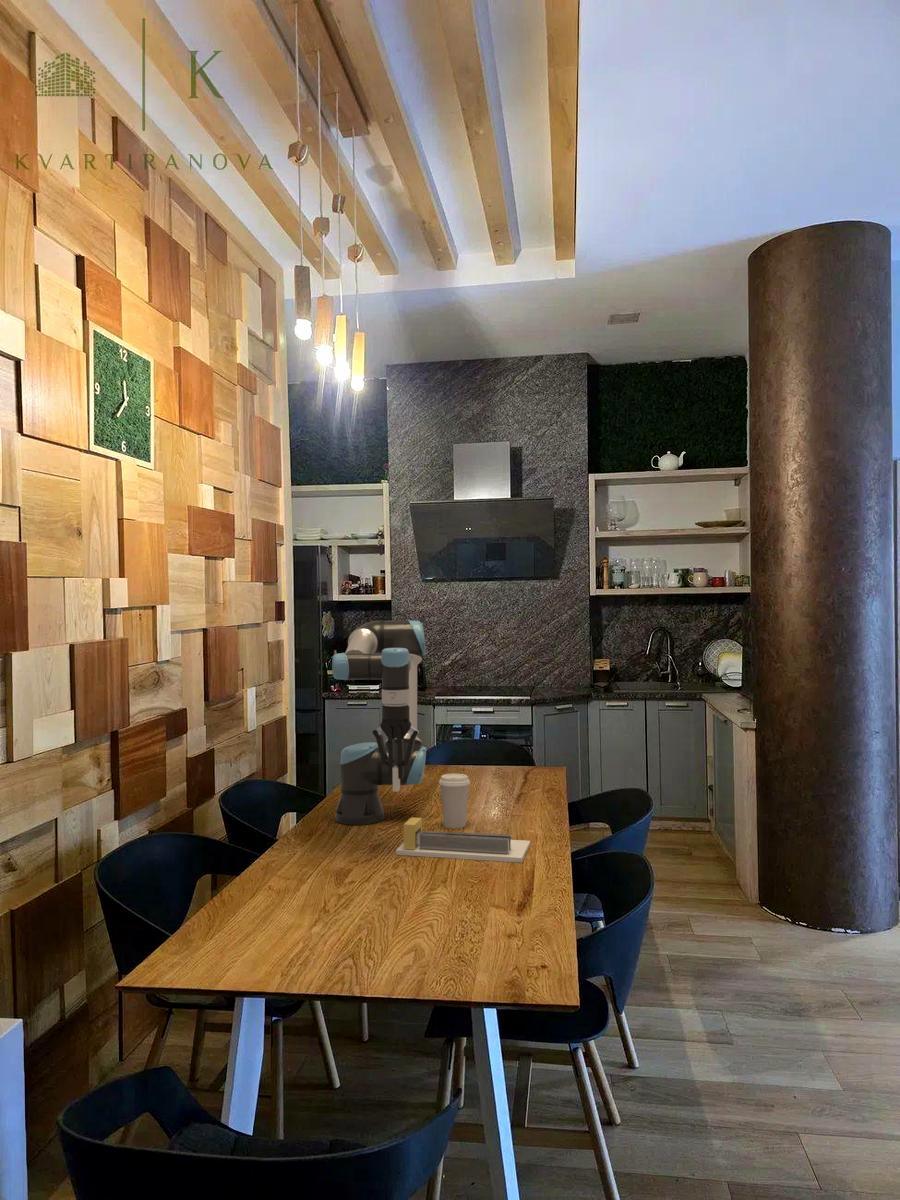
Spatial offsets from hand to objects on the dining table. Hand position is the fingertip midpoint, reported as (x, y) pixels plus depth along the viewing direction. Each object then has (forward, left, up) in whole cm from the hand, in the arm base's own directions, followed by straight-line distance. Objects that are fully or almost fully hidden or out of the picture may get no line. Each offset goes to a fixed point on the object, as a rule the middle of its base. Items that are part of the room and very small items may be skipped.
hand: (396, 790), depth 230 cm
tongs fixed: (+17, -1, -15) cm, 23 cm away
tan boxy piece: (+5, -1, -15) cm, 15 cm away
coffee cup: (+10, +26, -16) cm, 33 cm away
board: (+18, +3, -16) cm, 24 cm away
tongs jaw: (+19, +1, -15) cm, 24 cm away
